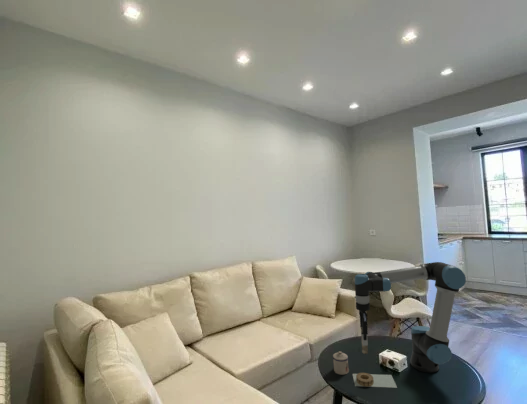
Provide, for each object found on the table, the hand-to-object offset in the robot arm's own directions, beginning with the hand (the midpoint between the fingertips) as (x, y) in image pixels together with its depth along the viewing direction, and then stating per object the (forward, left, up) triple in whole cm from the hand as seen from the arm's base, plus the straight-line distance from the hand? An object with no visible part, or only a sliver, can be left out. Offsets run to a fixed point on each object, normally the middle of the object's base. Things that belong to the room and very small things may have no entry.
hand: (364, 343), depth 164 cm
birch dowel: (0, 0, -5) cm, 5 cm away
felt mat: (-4, -1, -21) cm, 22 cm away
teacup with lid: (+13, -11, -22) cm, 28 cm away
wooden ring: (+1, +1, -21) cm, 21 cm away
